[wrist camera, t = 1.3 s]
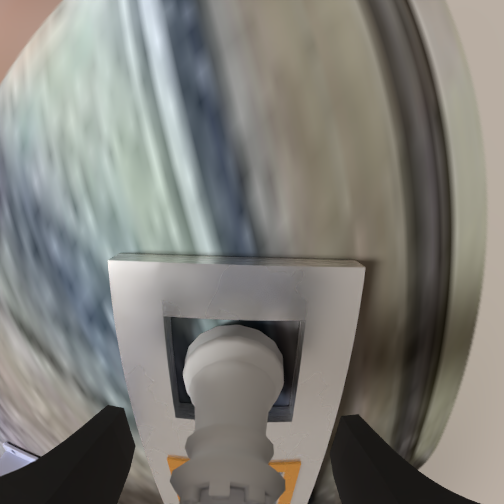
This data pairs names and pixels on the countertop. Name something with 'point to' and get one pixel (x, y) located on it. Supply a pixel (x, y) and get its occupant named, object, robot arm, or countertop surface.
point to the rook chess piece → (230, 418)
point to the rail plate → (236, 308)
